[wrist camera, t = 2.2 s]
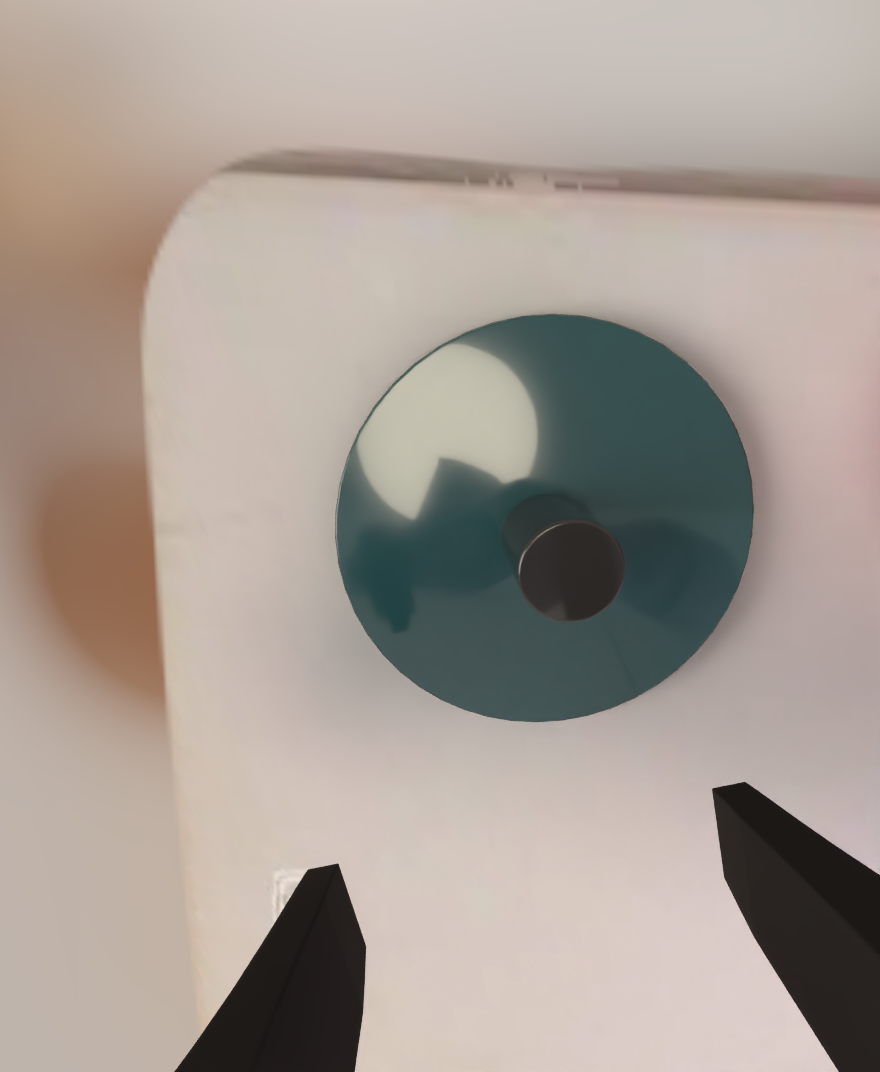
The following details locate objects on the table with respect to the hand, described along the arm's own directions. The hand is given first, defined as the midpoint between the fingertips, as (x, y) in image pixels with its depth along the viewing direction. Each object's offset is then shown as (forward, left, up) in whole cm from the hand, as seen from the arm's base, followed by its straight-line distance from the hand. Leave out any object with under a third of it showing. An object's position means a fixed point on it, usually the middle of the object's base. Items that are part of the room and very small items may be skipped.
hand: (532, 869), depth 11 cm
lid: (-2, -4, -8) cm, 9 cm away
